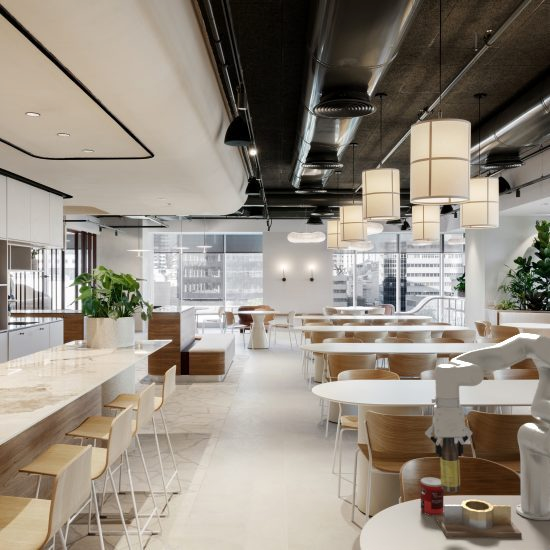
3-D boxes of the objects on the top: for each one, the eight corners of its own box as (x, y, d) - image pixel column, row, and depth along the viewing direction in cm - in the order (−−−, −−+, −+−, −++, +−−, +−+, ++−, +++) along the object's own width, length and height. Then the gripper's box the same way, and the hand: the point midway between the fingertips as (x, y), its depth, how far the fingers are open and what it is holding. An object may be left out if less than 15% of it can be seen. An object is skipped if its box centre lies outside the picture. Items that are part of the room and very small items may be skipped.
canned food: (424, 505, 213) (424, 475, 213) (446, 509, 209) (445, 479, 209) (417, 513, 207) (417, 482, 206) (440, 517, 203) (440, 486, 202)
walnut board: (436, 518, 202) (436, 514, 202) (506, 519, 201) (506, 514, 201) (446, 537, 188) (446, 532, 188) (521, 537, 187) (521, 533, 187)
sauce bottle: (448, 484, 198) (447, 426, 198) (464, 489, 193) (462, 430, 193) (436, 489, 195) (435, 430, 194) (452, 494, 189) (450, 434, 189)
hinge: (440, 516, 200) (440, 499, 200) (505, 517, 199) (505, 499, 199) (447, 529, 190) (447, 511, 190) (516, 530, 189) (516, 512, 189)
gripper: (423, 405, 190) (425, 460, 190) (477, 404, 189) (479, 458, 190) (419, 399, 197) (420, 452, 198) (470, 398, 197) (472, 451, 197)
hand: (449, 455), depth 194 cm, fingers closed on sauce bottle, 6 cm apart
